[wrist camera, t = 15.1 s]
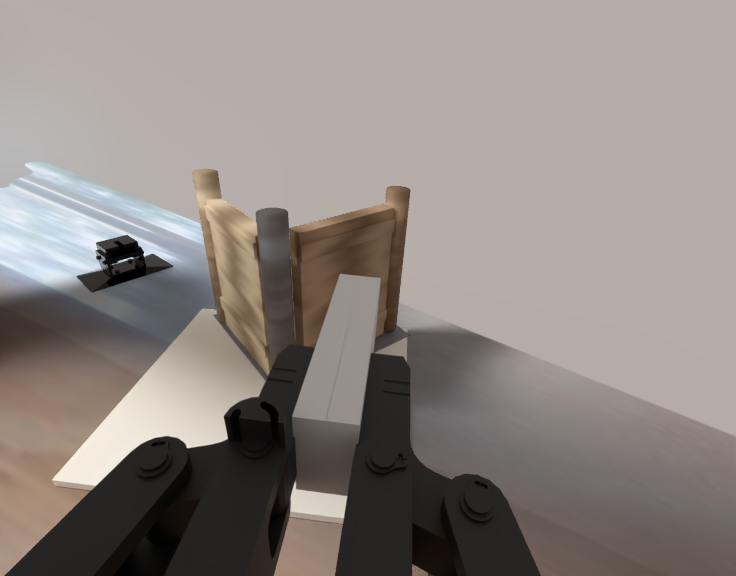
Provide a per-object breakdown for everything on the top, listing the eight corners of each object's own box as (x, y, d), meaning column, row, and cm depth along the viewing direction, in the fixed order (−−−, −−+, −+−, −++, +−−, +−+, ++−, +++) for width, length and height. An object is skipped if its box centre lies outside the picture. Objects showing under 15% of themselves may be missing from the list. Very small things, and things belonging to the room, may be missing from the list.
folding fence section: (308, 378, 32) (302, 218, 25) (294, 366, 33) (284, 209, 26) (400, 327, 39) (415, 190, 32) (385, 318, 40) (397, 184, 33)
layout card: (55, 485, 24) (51, 479, 24) (204, 311, 42) (203, 306, 42) (406, 532, 23) (407, 525, 23) (409, 331, 41) (410, 326, 40)
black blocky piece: (80, 304, 43) (66, 267, 41) (59, 282, 47) (45, 247, 45) (187, 268, 52) (180, 236, 49) (161, 251, 55) (154, 221, 53)
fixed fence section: (302, 388, 32) (293, 214, 24) (280, 399, 31) (264, 220, 23) (233, 311, 41) (212, 168, 34) (215, 318, 40) (188, 170, 33)
